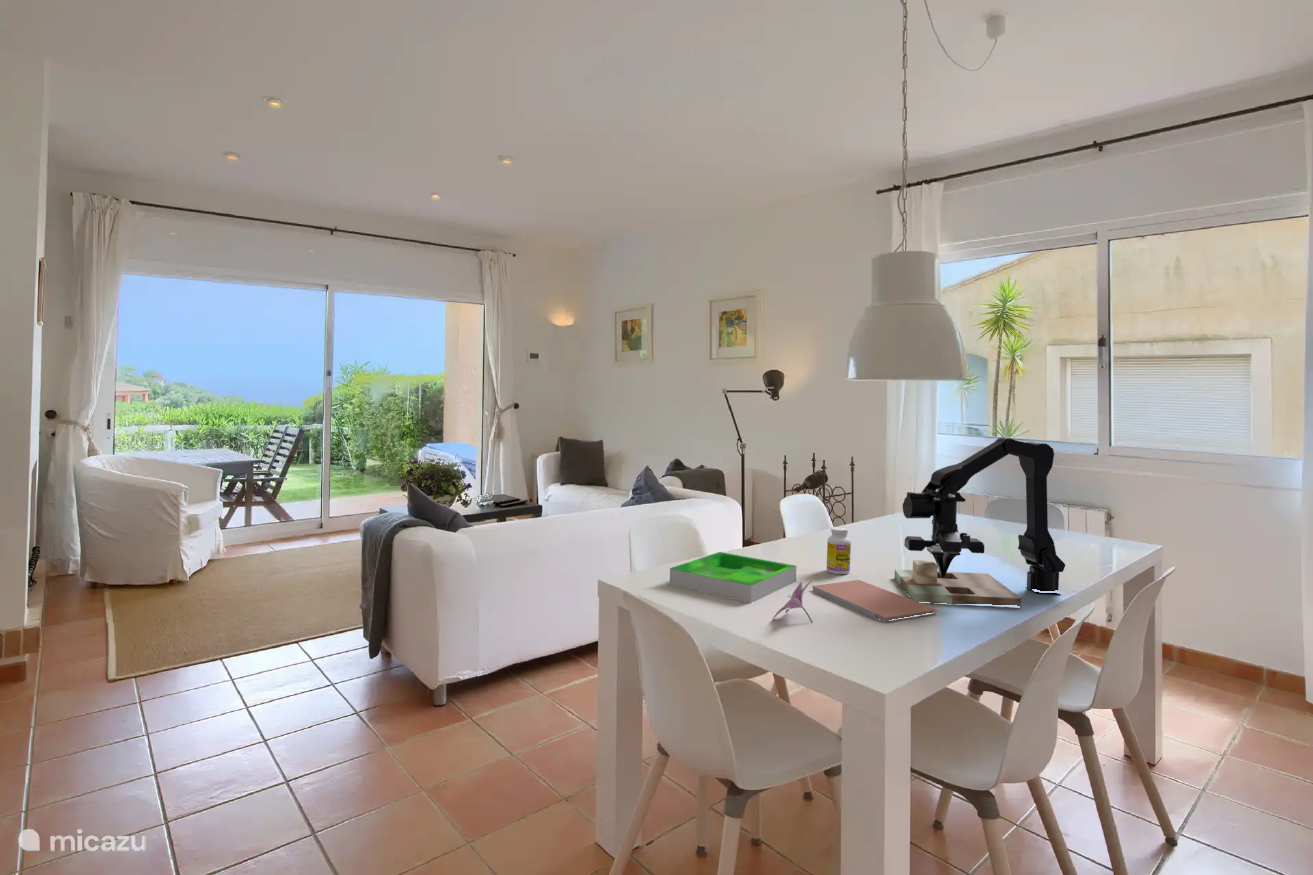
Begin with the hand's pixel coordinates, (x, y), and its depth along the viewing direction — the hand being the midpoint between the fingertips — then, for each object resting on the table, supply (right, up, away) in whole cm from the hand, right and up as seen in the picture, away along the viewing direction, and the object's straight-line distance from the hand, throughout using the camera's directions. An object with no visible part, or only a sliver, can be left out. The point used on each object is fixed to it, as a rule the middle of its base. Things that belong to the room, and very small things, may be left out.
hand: (942, 576), depth 177 cm
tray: (-54, -4, +6) cm, 55 cm away
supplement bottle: (-22, -3, +19) cm, 30 cm away
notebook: (-22, -5, -9) cm, 25 cm away
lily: (-44, -5, -23) cm, 50 cm away
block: (-4, -1, +1) cm, 5 cm away
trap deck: (+3, -4, 0) cm, 5 cm away
